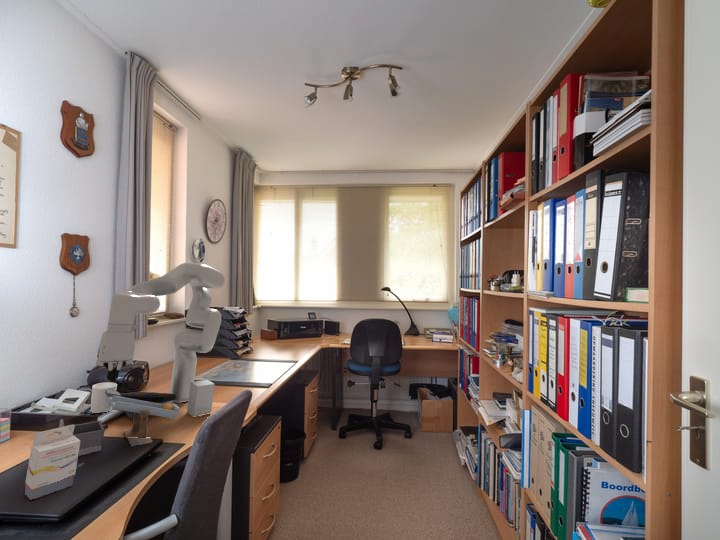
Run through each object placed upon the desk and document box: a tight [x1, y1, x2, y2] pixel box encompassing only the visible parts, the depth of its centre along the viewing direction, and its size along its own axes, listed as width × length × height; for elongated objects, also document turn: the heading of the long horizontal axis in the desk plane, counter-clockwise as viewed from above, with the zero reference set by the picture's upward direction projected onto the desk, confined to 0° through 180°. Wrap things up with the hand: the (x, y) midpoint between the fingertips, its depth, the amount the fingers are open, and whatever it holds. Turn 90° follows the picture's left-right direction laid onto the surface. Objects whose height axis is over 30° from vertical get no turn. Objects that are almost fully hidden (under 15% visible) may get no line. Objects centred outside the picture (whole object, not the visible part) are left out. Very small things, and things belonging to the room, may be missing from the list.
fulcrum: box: [123, 410, 151, 438], centre depth 114 cm, size 6×12×10 cm, turn 46°
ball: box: [163, 403, 173, 410], centre depth 120 cm, size 3×3×3 cm
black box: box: [120, 391, 176, 420], centre depth 134 cm, size 18×9×20 cm
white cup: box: [90, 381, 118, 414], centre depth 131 cm, size 8×8×10 cm
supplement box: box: [186, 379, 216, 418], centre depth 139 cm, size 7×7×13 cm
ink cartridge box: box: [24, 424, 80, 490], centre depth 84 cm, size 9×5×15 cm, turn 150°
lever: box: [105, 390, 181, 419], centre depth 118 cm, size 21×15×4 cm
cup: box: [57, 418, 106, 450], centre depth 103 cm, size 10×8×9 cm
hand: (111, 381), depth 116 cm, fingers closed
